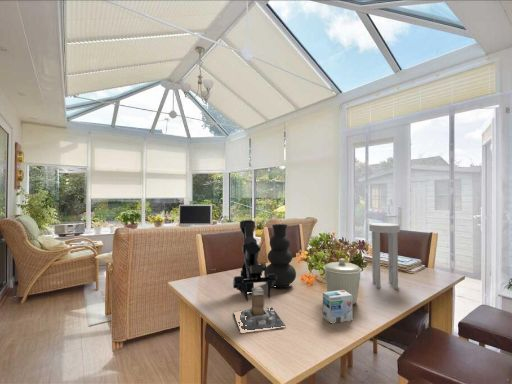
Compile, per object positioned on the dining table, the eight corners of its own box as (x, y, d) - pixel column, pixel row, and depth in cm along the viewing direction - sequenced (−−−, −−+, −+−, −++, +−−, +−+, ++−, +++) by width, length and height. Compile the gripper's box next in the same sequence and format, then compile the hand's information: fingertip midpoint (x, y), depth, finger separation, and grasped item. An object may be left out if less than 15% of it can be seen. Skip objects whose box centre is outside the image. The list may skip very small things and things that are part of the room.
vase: (302, 288, 152) (301, 225, 152) (272, 293, 145) (271, 227, 145) (286, 279, 169) (286, 222, 169) (259, 282, 162) (258, 224, 162)
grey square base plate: (233, 313, 120) (233, 305, 120) (272, 309, 124) (272, 301, 124) (240, 333, 103) (240, 324, 103) (285, 328, 107) (285, 319, 107)
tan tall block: (251, 316, 115) (251, 288, 115) (261, 315, 116) (261, 287, 116) (254, 320, 111) (253, 291, 111) (263, 319, 112) (263, 290, 112)
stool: (372, 288, 151) (372, 225, 152) (368, 279, 166) (367, 222, 167) (403, 290, 148) (402, 226, 148) (395, 281, 163) (395, 223, 163)
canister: (345, 292, 145) (344, 253, 145) (370, 305, 128) (370, 260, 128) (316, 297, 138) (315, 256, 138) (339, 312, 121) (338, 264, 121)
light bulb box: (330, 324, 110) (330, 297, 110) (322, 317, 116) (321, 291, 116) (353, 320, 113) (353, 294, 113) (344, 314, 119) (343, 289, 119)
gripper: (233, 257, 116) (238, 292, 105) (275, 255, 120) (284, 288, 109) (231, 271, 123) (235, 305, 112) (270, 268, 128) (278, 300, 117)
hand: (258, 299), depth 113 cm, fingers open, 9 cm apart
